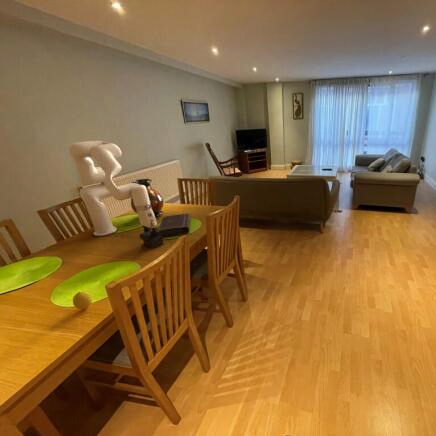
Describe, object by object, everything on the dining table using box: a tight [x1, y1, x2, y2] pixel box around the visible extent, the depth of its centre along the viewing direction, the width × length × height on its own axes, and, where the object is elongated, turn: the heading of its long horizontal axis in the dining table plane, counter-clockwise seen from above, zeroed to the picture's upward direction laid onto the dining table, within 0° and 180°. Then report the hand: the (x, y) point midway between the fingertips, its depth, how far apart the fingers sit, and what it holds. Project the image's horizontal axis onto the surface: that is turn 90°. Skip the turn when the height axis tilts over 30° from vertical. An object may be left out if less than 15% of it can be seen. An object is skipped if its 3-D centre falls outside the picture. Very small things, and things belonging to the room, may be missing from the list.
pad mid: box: [144, 235, 163, 244], centre depth 142 cm, size 10×6×3 cm, turn 58°
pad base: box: [142, 239, 164, 249], centre depth 143 cm, size 10×6×3 cm, turn 58°
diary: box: [157, 213, 191, 238], centre depth 164 cm, size 19×25×5 cm
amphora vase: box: [130, 178, 165, 219], centre depth 181 cm, size 22×22×28 cm
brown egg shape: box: [72, 290, 93, 310], centre depth 93 cm, size 6×6×8 cm
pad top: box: [139, 227, 162, 241], centre depth 141 cm, size 10×6×3 cm, turn 148°
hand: (151, 235), depth 141 cm, fingers closed on pad top, 5 cm apart
